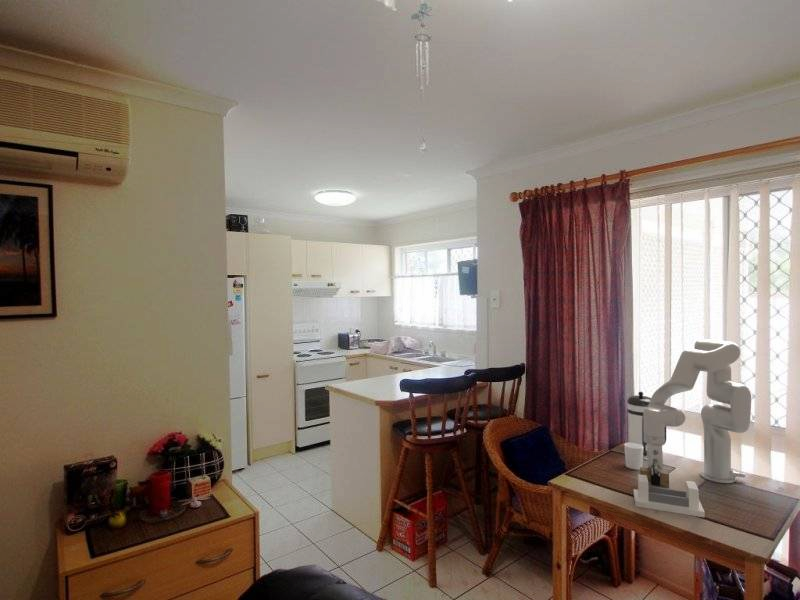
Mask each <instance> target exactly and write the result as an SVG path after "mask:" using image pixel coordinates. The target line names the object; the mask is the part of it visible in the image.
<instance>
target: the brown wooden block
mask: <svg viewBox="0 0 800 600" xmlns="http://www.w3.org/2000/svg"><path fill="white" fill-rule="evenodd" d="M653 471H654V470H653ZM659 471H660V486H656V485H651V474H652V472H651V468H648V467H645V466H644V467H643V466H642V467H640V469H639V474H640V475H647V479H648V486H654V487H661V488H668V489H670V473H669V471H668V469H667V470H666V469H663V470H661V469H660V468H659Z"/></svg>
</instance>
